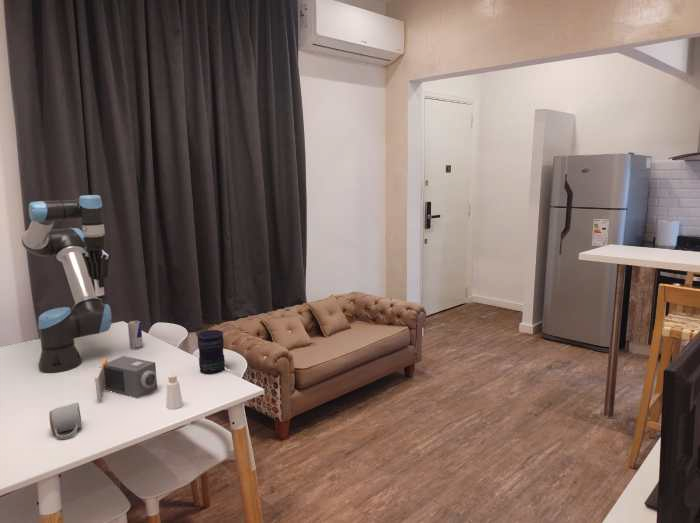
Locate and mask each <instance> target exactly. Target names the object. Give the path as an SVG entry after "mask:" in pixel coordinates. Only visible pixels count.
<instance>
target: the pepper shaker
mask: <svg viewBox="0 0 700 523" xmlns="http://www.w3.org/2000/svg"><path fill="white" fill-rule="evenodd" d="M167 378H168V379H167V380H168V382H167V384H166V401H165V402H166V403H165V404H166V405H165V406H166V408H167V409H168V410H176V408H177V409H180V408H182V406H183V405H184V403H183V397H182V391H181V388H180V382H179V381H178V376H177V374H175V373H172V374H168V376H167Z"/></svg>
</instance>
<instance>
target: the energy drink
mask: <svg viewBox="0 0 700 523" xmlns="http://www.w3.org/2000/svg"><path fill="white" fill-rule="evenodd" d="M127 329H128V340H129V349H130V350H132V349H137V350H141V349H143V347H144V344H143V343H144V341H143V331H142V330H143V329H142V323H141V321H140V320H131V321H128V323H127ZM140 348H141V349H140Z"/></svg>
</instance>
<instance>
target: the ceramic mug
mask: <svg viewBox="0 0 700 523" xmlns="http://www.w3.org/2000/svg"><path fill="white" fill-rule="evenodd" d="M48 414H49V416H48V418H49V426H50V430H51V432H52V433H54V434H55V437H57V439H59V440H66V439H67V440H68V439H70V438H72V437H74V436H75V435H76V433H77V431H78V429H81V428H82V425H83V424H82V416H81V410H80V405H79V402H74V403H71V404H67V405H64V406H59V407H57V408H54V409H52V410H50V411H49V412H48ZM66 431H67V432H68V431H71V432H70V433H69V434H66V435H61V434H59V433H62V432H66Z"/></svg>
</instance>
